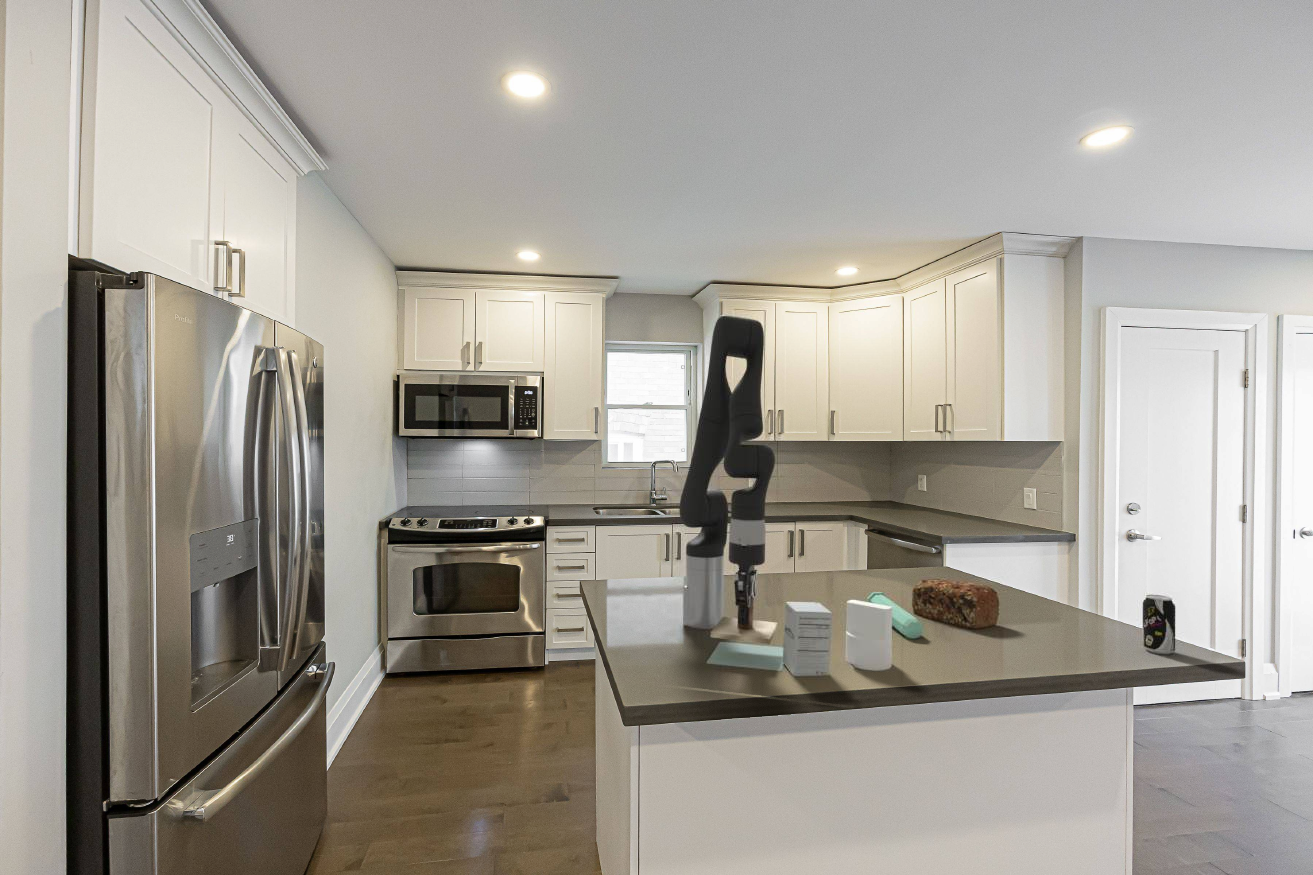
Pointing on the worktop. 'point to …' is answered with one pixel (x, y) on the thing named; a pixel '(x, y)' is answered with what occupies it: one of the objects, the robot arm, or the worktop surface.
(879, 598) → the container
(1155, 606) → the beverage can
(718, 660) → the mat
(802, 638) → the supplement box
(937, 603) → the bread
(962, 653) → the worktop surface
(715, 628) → the lid
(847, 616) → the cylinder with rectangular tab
